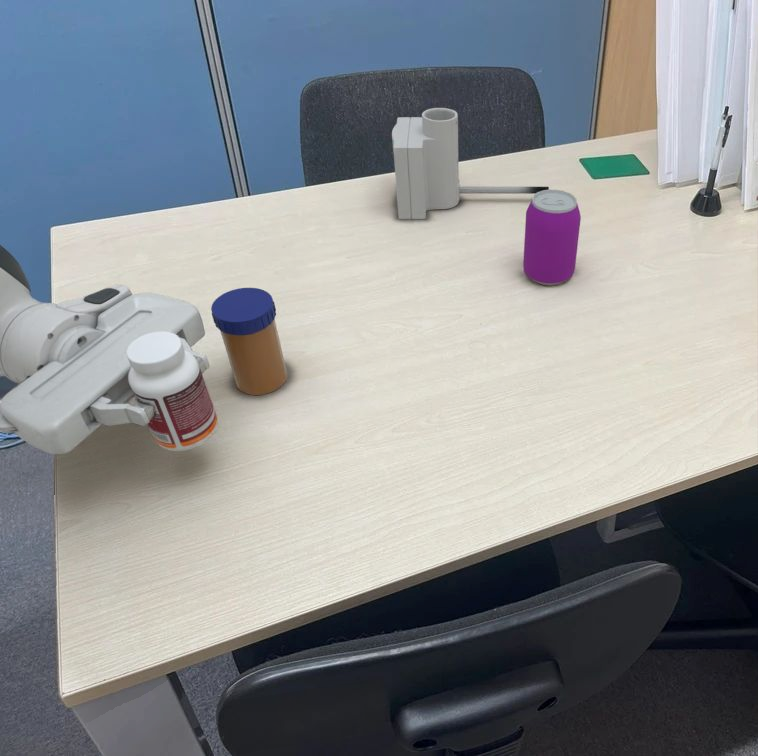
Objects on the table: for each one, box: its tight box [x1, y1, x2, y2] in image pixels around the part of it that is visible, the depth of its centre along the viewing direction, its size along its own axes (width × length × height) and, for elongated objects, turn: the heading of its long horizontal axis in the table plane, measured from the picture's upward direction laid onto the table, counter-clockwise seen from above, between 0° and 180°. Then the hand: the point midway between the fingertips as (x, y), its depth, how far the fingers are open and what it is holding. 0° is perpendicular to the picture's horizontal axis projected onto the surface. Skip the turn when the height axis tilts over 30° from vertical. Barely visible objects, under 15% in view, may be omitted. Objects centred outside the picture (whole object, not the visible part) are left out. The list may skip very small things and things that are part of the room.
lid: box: [210, 287, 277, 335], centre depth 79 cm, size 7×7×2 cm
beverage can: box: [522, 189, 582, 286], centre depth 101 cm, size 8×8×12 cm
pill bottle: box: [126, 331, 219, 452], centre depth 67 cm, size 6×6×11 cm
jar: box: [219, 319, 288, 396], centre depth 82 cm, size 6×6×11 cm
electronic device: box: [391, 107, 550, 220], centre depth 116 cm, size 12×26×15 cm, turn 93°
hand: (178, 389), depth 67 cm, fingers closed on pill bottle, 6 cm apart
